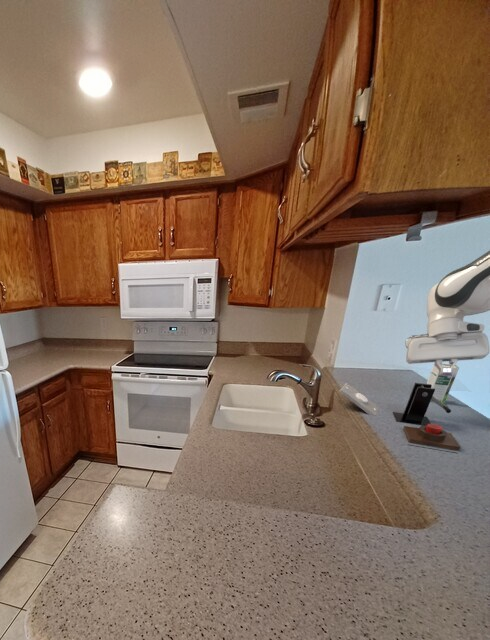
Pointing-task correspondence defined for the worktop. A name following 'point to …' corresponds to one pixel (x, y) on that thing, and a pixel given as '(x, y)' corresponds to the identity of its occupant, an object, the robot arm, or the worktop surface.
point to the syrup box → (442, 382)
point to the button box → (431, 438)
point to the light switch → (359, 400)
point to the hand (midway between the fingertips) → (446, 374)
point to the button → (434, 428)
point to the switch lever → (439, 403)
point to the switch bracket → (417, 406)
